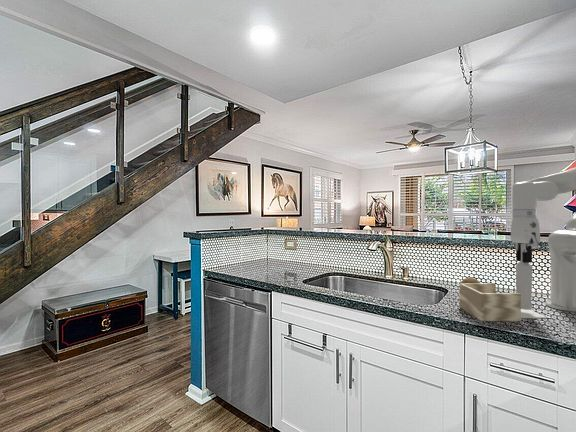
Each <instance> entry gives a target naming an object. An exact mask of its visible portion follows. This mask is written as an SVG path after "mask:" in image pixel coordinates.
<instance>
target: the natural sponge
mask: <svg viewBox="0 0 576 432" xmlns="http://www.w3.org/2000/svg"><path fill="white" fill-rule="evenodd" d="M460 283H481V282H480V280H478V279H476V278H475V277H466V278H464V279H463V280H461V282H460Z"/></svg>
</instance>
